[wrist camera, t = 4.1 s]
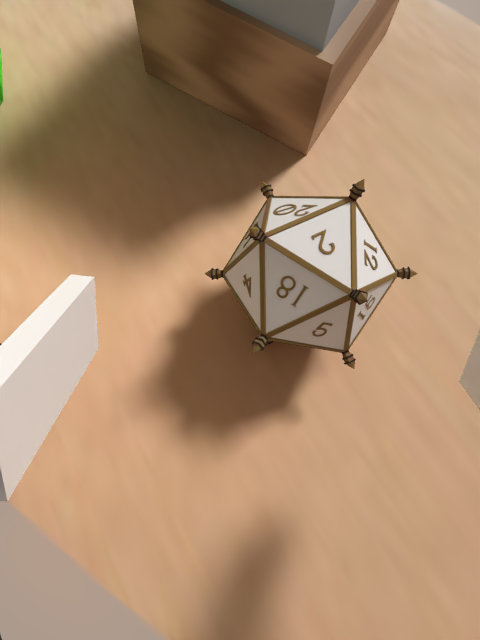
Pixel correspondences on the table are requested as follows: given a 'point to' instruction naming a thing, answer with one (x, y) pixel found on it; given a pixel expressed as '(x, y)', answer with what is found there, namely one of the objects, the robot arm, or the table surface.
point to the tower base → (258, 63)
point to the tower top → (300, 17)
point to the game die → (310, 271)
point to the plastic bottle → (0, 86)
